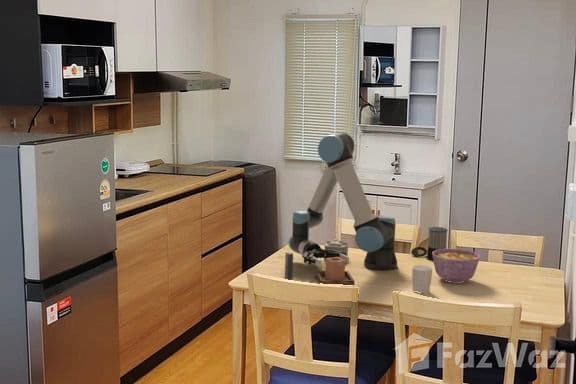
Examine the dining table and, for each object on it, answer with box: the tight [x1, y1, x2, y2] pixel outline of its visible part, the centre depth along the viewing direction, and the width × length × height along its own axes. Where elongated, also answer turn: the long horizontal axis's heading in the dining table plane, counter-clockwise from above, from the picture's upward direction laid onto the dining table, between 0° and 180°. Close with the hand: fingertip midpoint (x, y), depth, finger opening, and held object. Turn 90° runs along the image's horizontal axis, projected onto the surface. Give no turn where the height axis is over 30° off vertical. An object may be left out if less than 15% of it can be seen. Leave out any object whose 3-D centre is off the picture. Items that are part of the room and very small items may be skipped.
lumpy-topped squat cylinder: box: [323, 238, 349, 262], centre depth 339 cm, size 10×13×9 cm
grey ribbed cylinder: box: [410, 226, 449, 262], centre depth 344 cm, size 14×16×15 cm
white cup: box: [411, 264, 433, 294], centre depth 291 cm, size 8×8×10 cm
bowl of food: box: [432, 248, 481, 282], centre depth 308 cm, size 20×20×12 cm
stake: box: [284, 252, 294, 280], centre depth 305 cm, size 2×2×11 cm
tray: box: [315, 270, 355, 286], centre depth 303 cm, size 14×14×2 cm
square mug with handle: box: [324, 257, 346, 280], centre depth 302 cm, size 6×8×9 cm
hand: (334, 262), depth 302 cm, fingers open, 13 cm apart
